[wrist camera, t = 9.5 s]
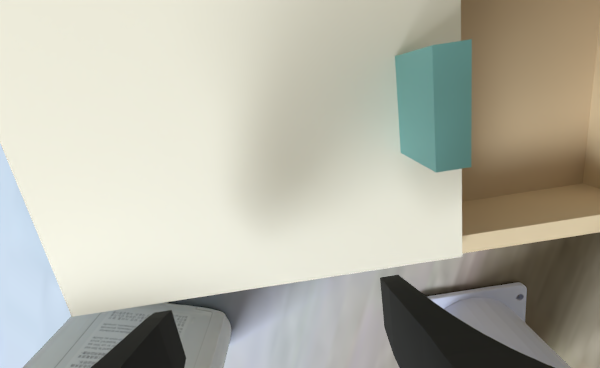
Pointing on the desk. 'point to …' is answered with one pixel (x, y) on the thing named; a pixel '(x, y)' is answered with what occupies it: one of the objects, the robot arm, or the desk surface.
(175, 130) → the lid flap
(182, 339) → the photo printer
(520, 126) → the wooden box
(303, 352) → the desk surface
